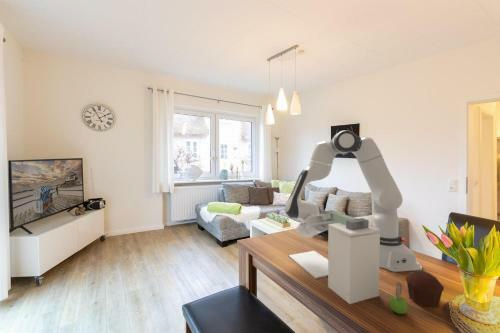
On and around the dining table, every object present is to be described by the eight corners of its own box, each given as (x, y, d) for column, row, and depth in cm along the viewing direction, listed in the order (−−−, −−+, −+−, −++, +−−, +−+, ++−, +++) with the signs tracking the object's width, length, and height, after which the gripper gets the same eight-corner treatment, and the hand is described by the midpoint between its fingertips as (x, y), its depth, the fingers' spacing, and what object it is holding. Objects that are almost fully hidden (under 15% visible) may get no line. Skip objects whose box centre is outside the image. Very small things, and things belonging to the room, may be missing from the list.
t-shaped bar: (321, 218, 104) (321, 211, 104) (336, 216, 106) (336, 209, 106) (351, 230, 87) (351, 222, 87) (368, 227, 90) (368, 220, 89)
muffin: (401, 288, 94) (401, 264, 93) (434, 293, 91) (435, 268, 90) (411, 307, 83) (412, 280, 82) (449, 313, 79) (450, 285, 79)
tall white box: (328, 286, 96) (328, 224, 95) (355, 280, 101) (355, 220, 100) (349, 304, 85) (350, 233, 83) (378, 295, 90) (380, 228, 88)
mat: (288, 256, 125) (288, 255, 125) (314, 251, 130) (314, 250, 130) (315, 278, 102) (315, 277, 102) (345, 272, 108) (345, 270, 108)
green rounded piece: (388, 315, 79) (388, 281, 78) (389, 305, 84) (390, 272, 83) (407, 321, 76) (408, 285, 75) (407, 310, 81) (408, 277, 80)
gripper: (297, 218, 110) (312, 210, 99) (333, 214, 117) (351, 205, 106) (301, 232, 108) (317, 224, 96) (337, 227, 115) (356, 219, 103)
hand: (335, 214), depth 101 cm, fingers closed on t-shaped bar, 3 cm apart
